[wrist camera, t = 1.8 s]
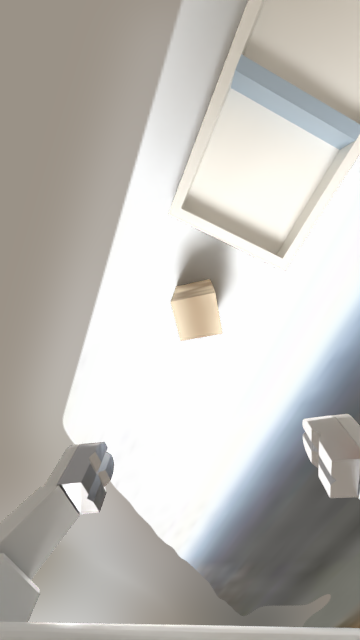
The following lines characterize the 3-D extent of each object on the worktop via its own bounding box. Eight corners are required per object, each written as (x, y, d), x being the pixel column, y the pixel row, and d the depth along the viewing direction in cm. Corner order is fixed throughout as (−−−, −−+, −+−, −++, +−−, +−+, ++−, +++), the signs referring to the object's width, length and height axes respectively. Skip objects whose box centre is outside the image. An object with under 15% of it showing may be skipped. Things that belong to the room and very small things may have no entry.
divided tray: (305, -137, 15) (331, -222, 12) (457, -28, 16) (510, -83, 14) (171, 216, 24) (168, 214, 21) (275, 267, 25) (285, 271, 23)
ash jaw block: (210, 278, 27) (215, 292, 20) (215, 311, 28) (222, 333, 22) (176, 286, 27) (170, 301, 21) (183, 317, 29) (180, 340, 22)
